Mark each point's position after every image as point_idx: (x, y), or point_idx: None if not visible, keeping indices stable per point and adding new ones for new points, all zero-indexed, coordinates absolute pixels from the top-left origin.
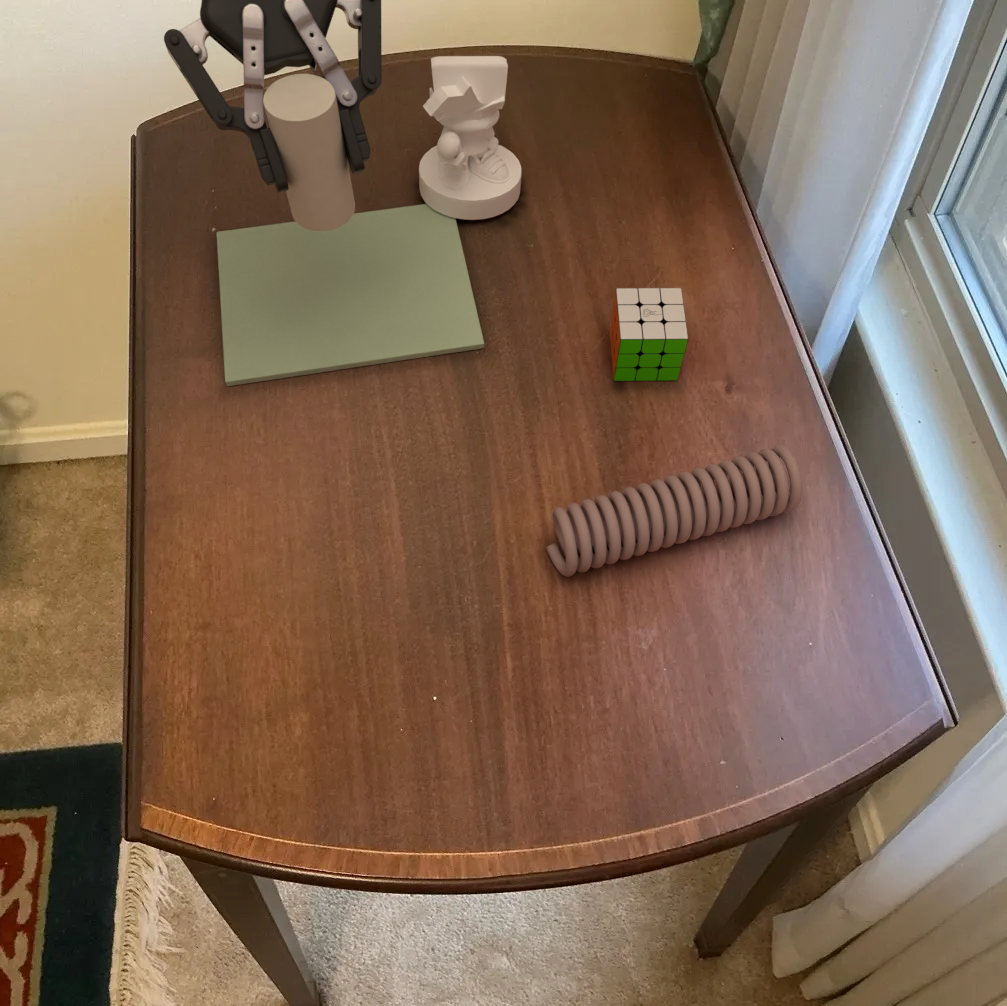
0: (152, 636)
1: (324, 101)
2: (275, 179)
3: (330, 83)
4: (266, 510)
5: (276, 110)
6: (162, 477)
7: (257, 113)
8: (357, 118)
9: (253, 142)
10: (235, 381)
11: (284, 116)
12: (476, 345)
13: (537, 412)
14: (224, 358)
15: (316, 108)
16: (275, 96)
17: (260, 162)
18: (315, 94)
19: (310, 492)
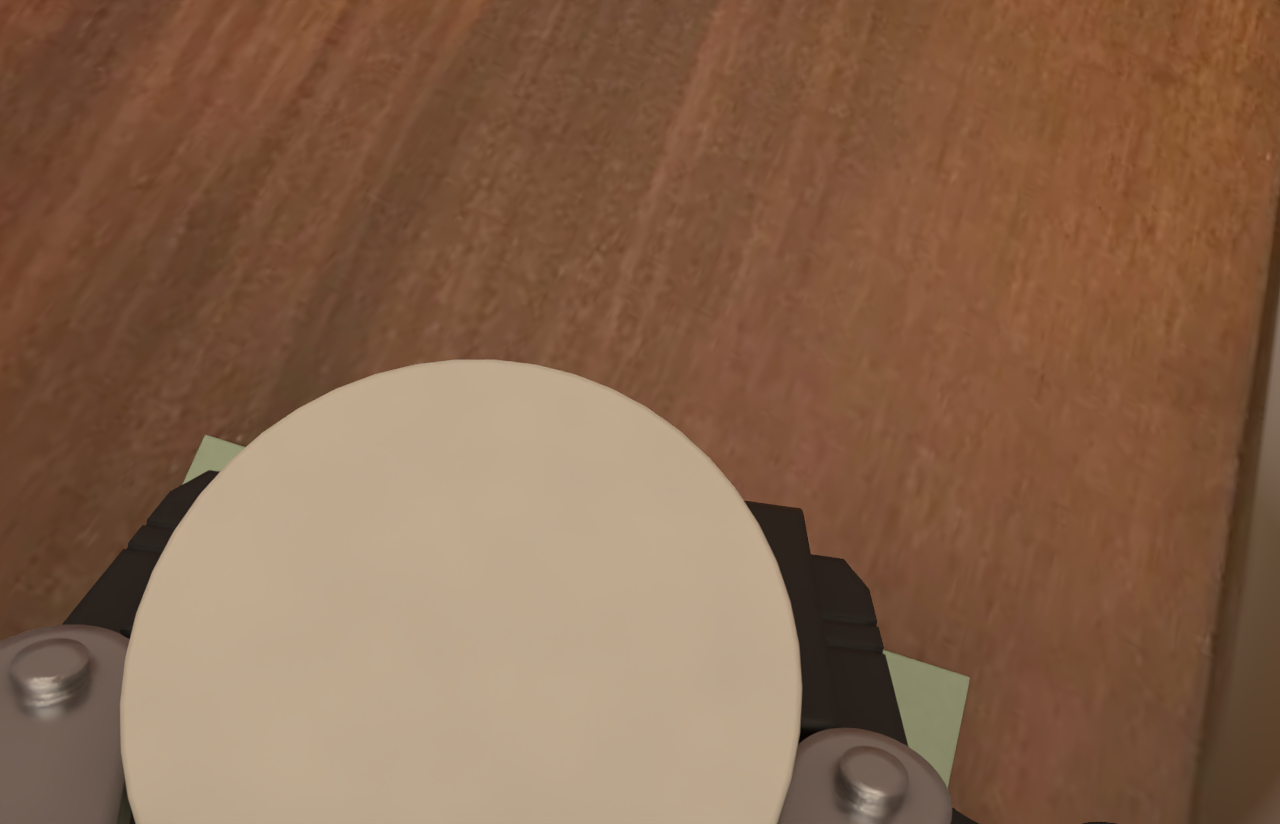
0: (1273, 107)
1: (298, 500)
2: (803, 524)
3: (107, 793)
4: (967, 261)
5: (724, 594)
6: (1192, 471)
7: (838, 804)
8: (104, 616)
9: (889, 729)
10: (939, 669)
11: (690, 483)
12: (229, 442)
13: (216, 188)
14: (949, 769)
15: (402, 452)
16: (666, 782)
17: (865, 633)
18: (323, 626)
19: (852, 255)
